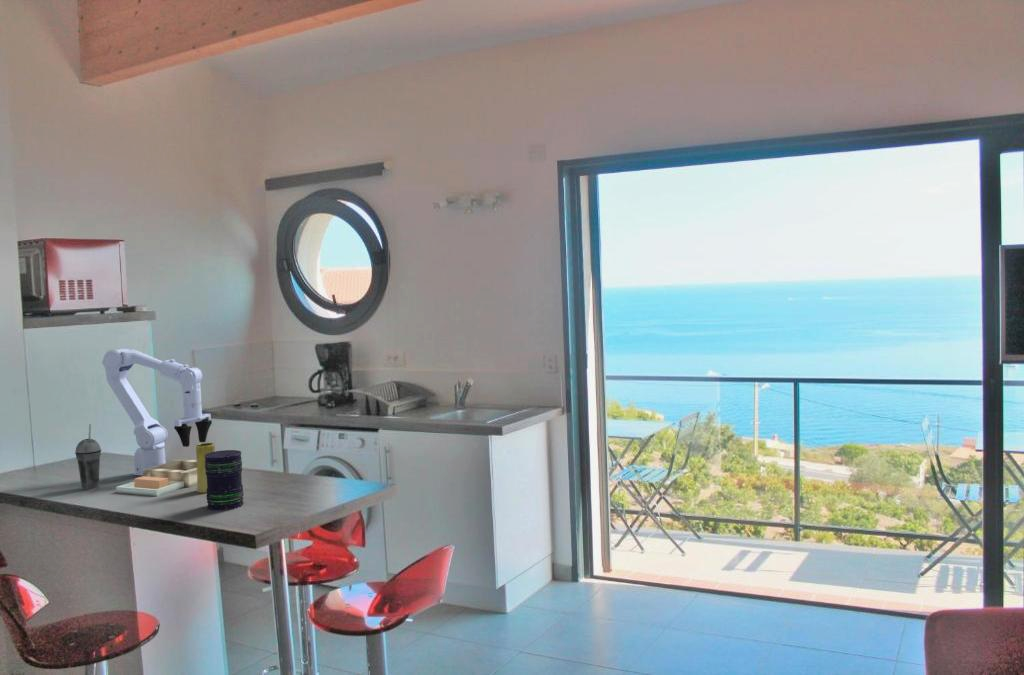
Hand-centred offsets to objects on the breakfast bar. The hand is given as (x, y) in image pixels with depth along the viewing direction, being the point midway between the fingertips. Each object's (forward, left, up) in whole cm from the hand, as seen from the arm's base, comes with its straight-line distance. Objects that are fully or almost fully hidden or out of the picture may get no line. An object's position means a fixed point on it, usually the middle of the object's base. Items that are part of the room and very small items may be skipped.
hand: (194, 444), depth 266 cm
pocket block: (+2, -8, -10) cm, 13 cm away
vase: (+21, -18, -10) cm, 29 cm away
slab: (+3, -22, -9) cm, 24 cm away
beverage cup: (-19, -25, -10) cm, 33 cm away
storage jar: (+39, -31, -10) cm, 51 cm away
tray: (+2, -22, -10) cm, 24 cm away
